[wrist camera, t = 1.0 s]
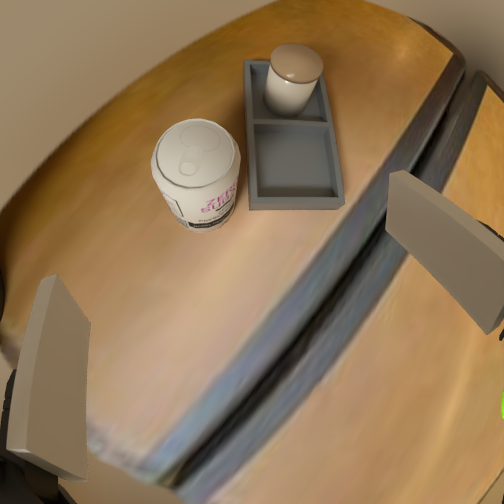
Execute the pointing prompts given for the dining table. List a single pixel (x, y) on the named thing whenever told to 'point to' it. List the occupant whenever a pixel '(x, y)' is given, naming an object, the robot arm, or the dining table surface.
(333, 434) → the dining table surface
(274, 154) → the divided grey tray
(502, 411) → the wineglass
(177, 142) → the supplement can
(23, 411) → the robot arm
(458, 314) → the dining table surface
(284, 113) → the jar
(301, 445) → the dining table surface
